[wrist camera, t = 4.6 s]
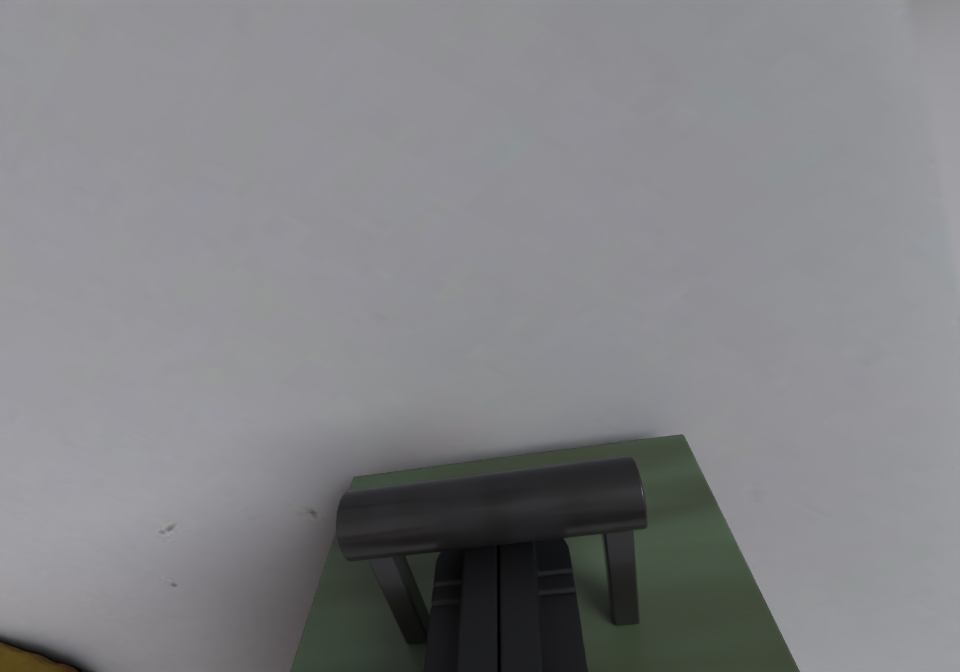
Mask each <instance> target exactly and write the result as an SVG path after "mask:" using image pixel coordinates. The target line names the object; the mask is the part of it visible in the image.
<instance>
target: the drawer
mask: <svg viewBox="0 0 960 672" xmlns="http://www.w3.org/2000/svg"><path fill="white" fill-rule="evenodd" d="M561 538H564V540H565V541H566V543H567V545H568V546H569V551H570V557H571V563H572V569H573V575H574V581H575V587H576V594H577V601H578V607H579V614H580V621H581V627H582V634H583V641H584V647H585V654H586V661H587V667H588V672H800V671H799V669H798V667H797V665H796V663H795V661H794V659H793V657H792V655H791V653H790V651H789V649H788V647H787V645H786V643H785V641H784V638H783V636H782V634H781V632H780V630H779V628H778V626H777V624H776V622H775V620H774V618H773V616H772V614H771V612H770V610H769V608H768V606H767V604H766V602H765V600H764V598H763V596H762V594H761V592H760V589H759V587H758V585H757V583H756V581H755V579H754V577H753V575H752V573H751V571H750V569H749V567H748V565H747V563H746V561H745V559H744V557H743V555H742V553H741V551H740V549H739V547H738V545H737V542H736V540H735V538H734V536H733V534H732V532H731V530H730V528H729V526H728V524H727V522H726V520H725V518H724V516H723V514H722V512H721V510H720V508H719V506H718V504H717V502H716V500H715V498H714V496H713V493H712V491H711V489H710V487H709V485H708V483H707V481H706V479H705V477H704V475H703V473H702V471H701V469H700V467H699V465H698V463H697V461H696V459H695V457H694V455H693V453H692V451H691V449H690V447H689V444H688V442H687V440H686V438H685V436H684V435H682V434H680V435H673V436H665V437H657V438H650V439H642V440H634V441H627V442H619V443H611V444H604V445H596V446H588V447H580V448H573V449H565V450H557V451H550V452H542V453H534V454H527V455H519V456H511V457H503V458H496V459H488V460H480V461H473V462H465V463H457V464H450V465H442V466H434V467H427V468H419V469H411V470H403V471H396V472H388V473H380V474H373V475H365V476H357V477H354V478H353V481H352V484H351V487H350V490H349V491H348V492H346V493H345V494H344V495H343V496H342V498H341V500H340V503H339V506H338V510H337V518H336V533H335V536H334V539H333V542H332V545H331V548H330V551H329V554H328V558H327V561H326V564H325V567H324V570H323V573H322V576H321V579H320V582H319V585H318V588H317V591H316V594H315V597H314V601H313V604H312V607H311V610H310V613H309V616H308V619H307V622H306V625H305V628H304V631H303V634H302V637H301V640H300V644H299V647H298V650H297V653H296V656H295V659H294V662H293V665H292V668H291V671H290V672H424V663H425V654H426V645H427V636H428V627H429V619H430V610H431V607H432V604H431V601H432V592H433V588H434V584H433V583H434V574H435V566H436V560H437V558H438V556H439V554H440V552H443V551H452V550H461V549H470V548H479V547H488V546H497V545H507V544H516V543H525V542H534V541H543V540H552V539H561Z"/></svg>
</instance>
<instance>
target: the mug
mask: <svg viewBox="0 0 960 672" xmlns="http://www.w3.org/2000/svg"><path fill="white" fill-rule="evenodd" d="M0 672H79V671H77V670H76V669H74V668H73V667H71V666H69V665H66V664H62V663H55V662H53V661H50V660H48V659H47V658H46V657H44V656H41V655H38V654H35V653H31V652H26V651H23V650H21V649H19V648H16V647H13V646H10V645H7V644H4V643H2V642H0Z"/></svg>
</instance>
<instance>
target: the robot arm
mask: <svg viewBox="0 0 960 672" xmlns="http://www.w3.org/2000/svg"><path fill="white" fill-rule="evenodd" d="M433 584H434V588H433V592H432V601H431V604H432V607H431V610H430V619H429V627H428V636H427V645H426V654H425V663H424V672H588V667H587V661H586V654H585V647H584V641H583V634H582V627H581V621H580V614H579V607H578V601H577V594H576V587H575V581H574V575H573V569H572V563H571V557H570V551H569V546H568V545H567V543H566V541H565V540H564V538H561V539H552V540H543V541H534V542H525V543H516V544H507V545H497V546H488V547H479V548H470V549H461V550H452V551H443V552H440V554H439V556H438V558H437V560H436V566H435V574H434V583H433Z"/></svg>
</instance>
